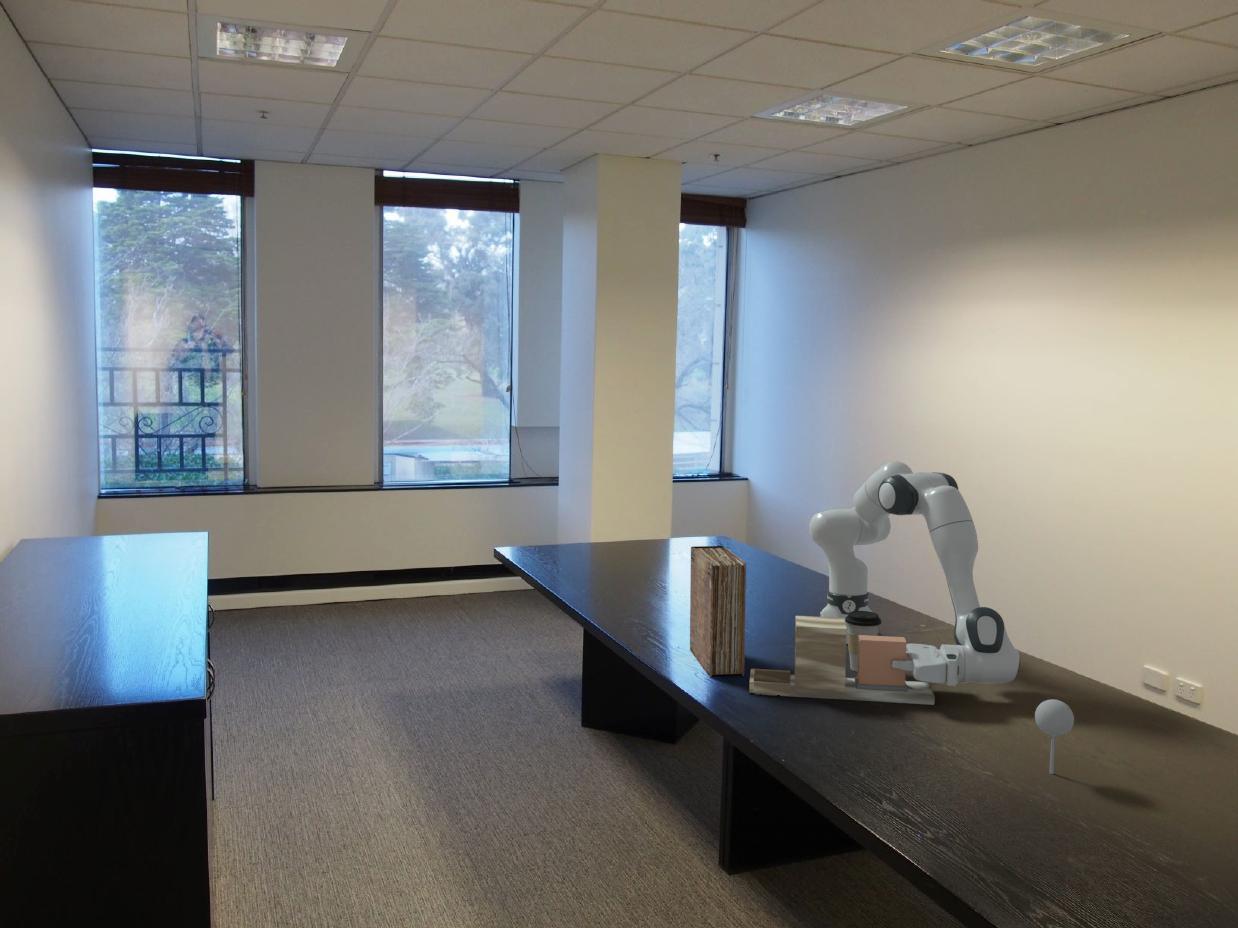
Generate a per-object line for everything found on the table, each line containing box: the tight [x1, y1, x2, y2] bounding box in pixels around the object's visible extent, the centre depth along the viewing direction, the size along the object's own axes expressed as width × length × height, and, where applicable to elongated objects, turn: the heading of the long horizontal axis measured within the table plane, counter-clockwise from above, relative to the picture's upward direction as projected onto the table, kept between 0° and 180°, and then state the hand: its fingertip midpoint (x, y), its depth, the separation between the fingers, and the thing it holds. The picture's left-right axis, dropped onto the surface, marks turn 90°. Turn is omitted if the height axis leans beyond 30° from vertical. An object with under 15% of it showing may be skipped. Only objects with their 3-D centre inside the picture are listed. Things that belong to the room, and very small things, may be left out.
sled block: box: [854, 635, 907, 691], centre depth 243 cm, size 6×12×12 cm, turn 81°
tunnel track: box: [748, 615, 936, 705], centre depth 244 cm, size 11×44×18 cm, turn 81°
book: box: [689, 545, 747, 678], centre depth 267 cm, size 25×9×30 cm, turn 8°
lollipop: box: [1034, 699, 1075, 775], centre depth 196 cm, size 7×7×15 cm
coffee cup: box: [845, 611, 882, 673], centre depth 263 cm, size 9×9×15 cm
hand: (890, 659), depth 242 cm, fingers closed on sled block, 4 cm apart
